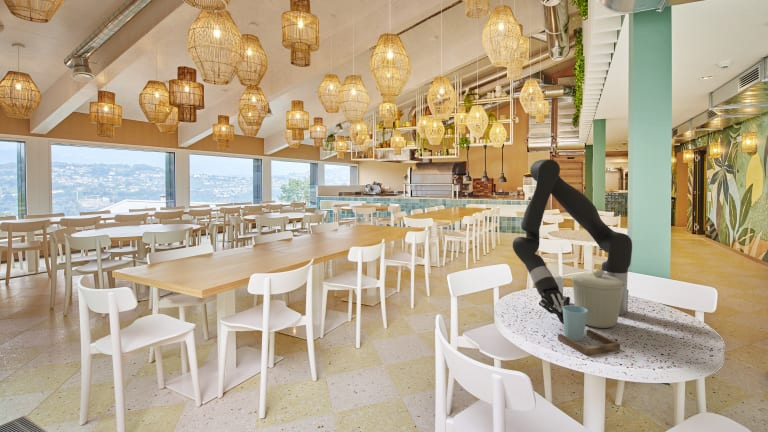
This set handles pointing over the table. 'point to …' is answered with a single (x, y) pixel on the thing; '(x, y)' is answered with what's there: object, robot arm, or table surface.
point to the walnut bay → (607, 347)
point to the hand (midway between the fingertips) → (566, 323)
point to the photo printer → (559, 282)
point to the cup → (574, 321)
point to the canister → (598, 297)
